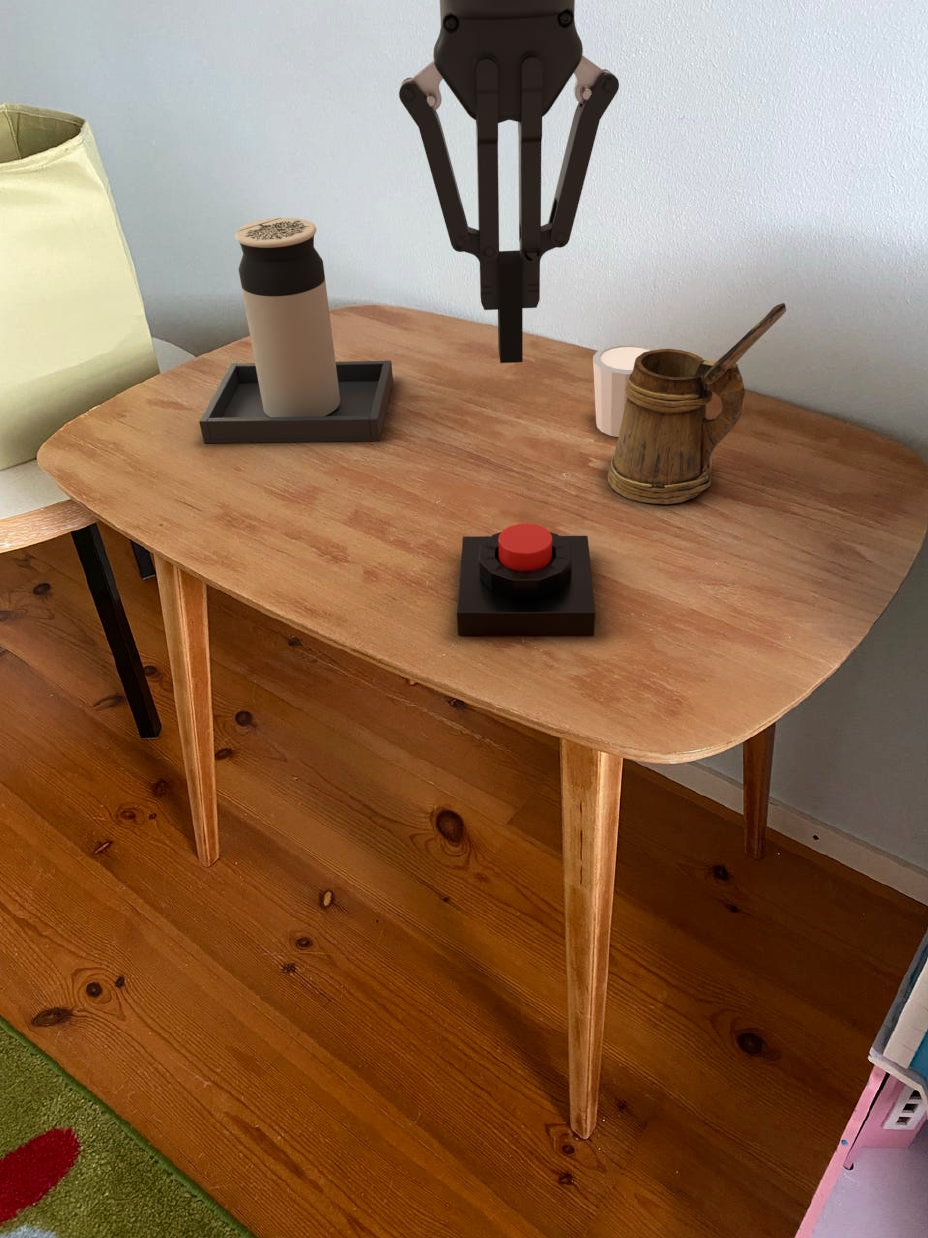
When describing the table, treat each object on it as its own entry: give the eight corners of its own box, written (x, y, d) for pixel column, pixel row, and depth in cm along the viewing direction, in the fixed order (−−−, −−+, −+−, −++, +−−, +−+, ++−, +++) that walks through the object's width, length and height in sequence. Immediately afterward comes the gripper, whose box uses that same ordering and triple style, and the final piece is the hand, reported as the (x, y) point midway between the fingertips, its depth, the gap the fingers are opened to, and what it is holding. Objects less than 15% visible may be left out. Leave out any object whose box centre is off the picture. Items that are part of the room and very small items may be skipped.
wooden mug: (730, 532, 82) (763, 323, 71) (589, 486, 89) (599, 288, 77) (773, 486, 88) (809, 285, 76) (637, 446, 94) (653, 255, 83)
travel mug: (355, 408, 102) (334, 229, 91) (287, 432, 98) (257, 249, 87) (315, 383, 107) (291, 210, 96) (250, 405, 103) (217, 228, 92)
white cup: (610, 402, 101) (614, 337, 97) (671, 418, 98) (678, 351, 94) (577, 429, 97) (579, 362, 93) (639, 447, 94) (645, 378, 90)
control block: (458, 636, 73) (455, 593, 70) (463, 558, 81) (461, 517, 78) (593, 636, 72) (596, 592, 70) (586, 557, 80) (588, 516, 78)
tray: (203, 443, 98) (198, 421, 96) (234, 383, 109) (230, 363, 107) (379, 441, 97) (377, 418, 95) (393, 381, 108) (391, 360, 106)
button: (498, 572, 73) (498, 553, 72) (499, 542, 76) (498, 523, 75) (552, 572, 72) (553, 552, 71) (551, 541, 76) (551, 522, 75)
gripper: (617, -76, 56) (599, 332, 70) (388, -66, 56) (415, 340, 70) (638, -76, 50) (614, 371, 63) (382, -65, 50) (412, 380, 63)
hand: (510, 354), depth 67 cm, fingers closed
